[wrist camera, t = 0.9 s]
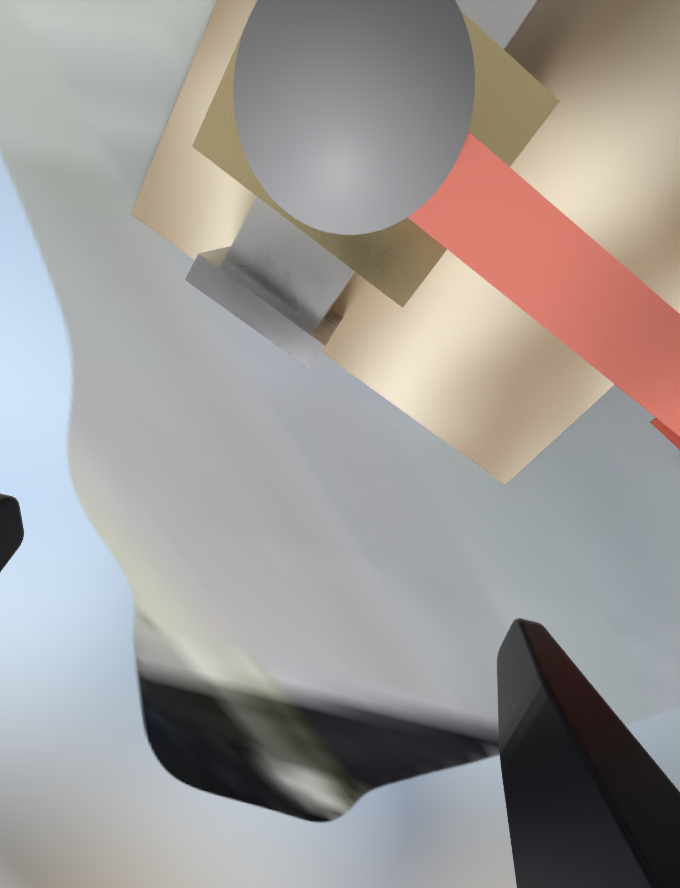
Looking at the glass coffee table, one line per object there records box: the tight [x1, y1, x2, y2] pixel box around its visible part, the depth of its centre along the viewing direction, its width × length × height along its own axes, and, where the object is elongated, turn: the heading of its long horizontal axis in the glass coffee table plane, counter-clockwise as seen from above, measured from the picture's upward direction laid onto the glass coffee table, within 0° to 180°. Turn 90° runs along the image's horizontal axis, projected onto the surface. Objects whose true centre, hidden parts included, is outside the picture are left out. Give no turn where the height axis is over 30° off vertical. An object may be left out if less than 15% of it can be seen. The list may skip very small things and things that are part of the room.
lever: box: [233, 0, 680, 449], centre depth 10 cm, size 14×4×2 cm, turn 55°
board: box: [130, 0, 680, 485], centre depth 14 cm, size 16×15×1 cm
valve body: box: [185, 0, 560, 368], centre depth 11 cm, size 6×14×4 cm, turn 145°
